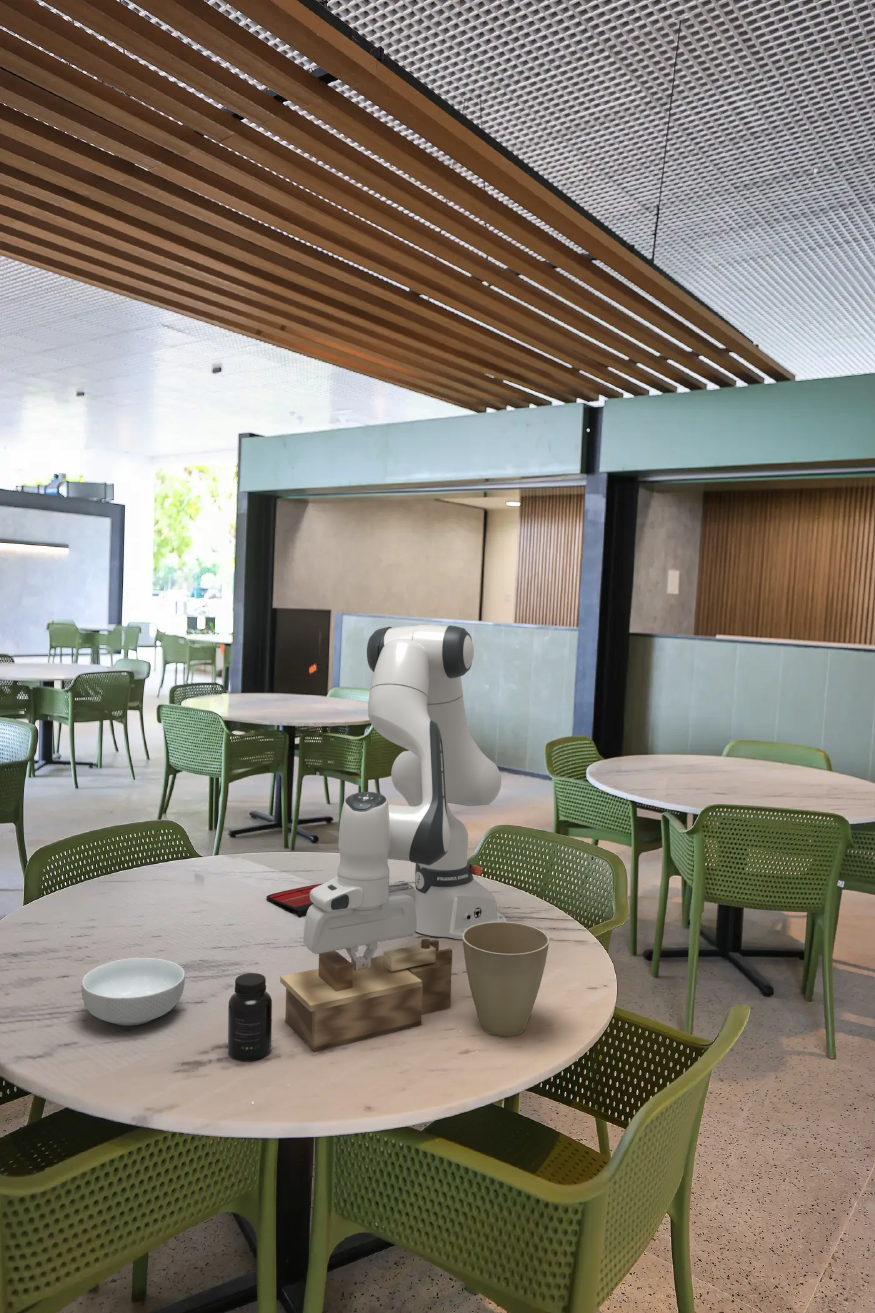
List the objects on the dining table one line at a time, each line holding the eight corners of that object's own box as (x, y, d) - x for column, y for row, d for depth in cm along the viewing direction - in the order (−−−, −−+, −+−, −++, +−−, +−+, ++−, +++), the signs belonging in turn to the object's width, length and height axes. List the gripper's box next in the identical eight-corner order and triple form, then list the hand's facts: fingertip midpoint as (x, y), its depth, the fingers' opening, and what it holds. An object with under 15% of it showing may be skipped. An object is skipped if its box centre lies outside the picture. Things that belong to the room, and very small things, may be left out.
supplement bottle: (230, 1041, 151) (232, 969, 150) (273, 1041, 152) (274, 969, 151) (224, 1062, 144) (226, 987, 144) (268, 1062, 145) (270, 987, 144)
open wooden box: (425, 989, 174) (427, 933, 173) (460, 1015, 163) (462, 956, 163) (285, 1021, 159) (286, 960, 158) (314, 1052, 149) (315, 987, 148)
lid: (386, 966, 169) (387, 933, 169) (421, 993, 158) (422, 958, 158) (280, 989, 158) (280, 953, 158) (310, 1019, 148) (311, 981, 147)
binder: (373, 892, 223) (298, 910, 209) (373, 902, 223) (298, 920, 209) (335, 878, 235) (262, 894, 221) (335, 887, 235) (262, 903, 221)
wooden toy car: (426, 956, 168) (427, 936, 168) (435, 962, 165) (436, 942, 165) (383, 965, 163) (383, 945, 163) (391, 971, 160) (392, 951, 160)
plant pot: (476, 1001, 169) (479, 916, 168) (555, 1018, 164) (559, 930, 163) (445, 1036, 156) (449, 943, 154) (530, 1056, 150) (534, 960, 149)
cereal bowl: (125, 1049, 148) (126, 1006, 147) (59, 1021, 156) (60, 980, 156) (205, 1010, 162) (205, 971, 161) (140, 986, 171) (141, 949, 170)
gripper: (406, 876, 166) (404, 951, 167) (300, 892, 155) (299, 972, 156) (424, 886, 161) (422, 964, 162) (316, 903, 150) (314, 986, 151)
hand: (360, 968), depth 159 cm, fingers closed
